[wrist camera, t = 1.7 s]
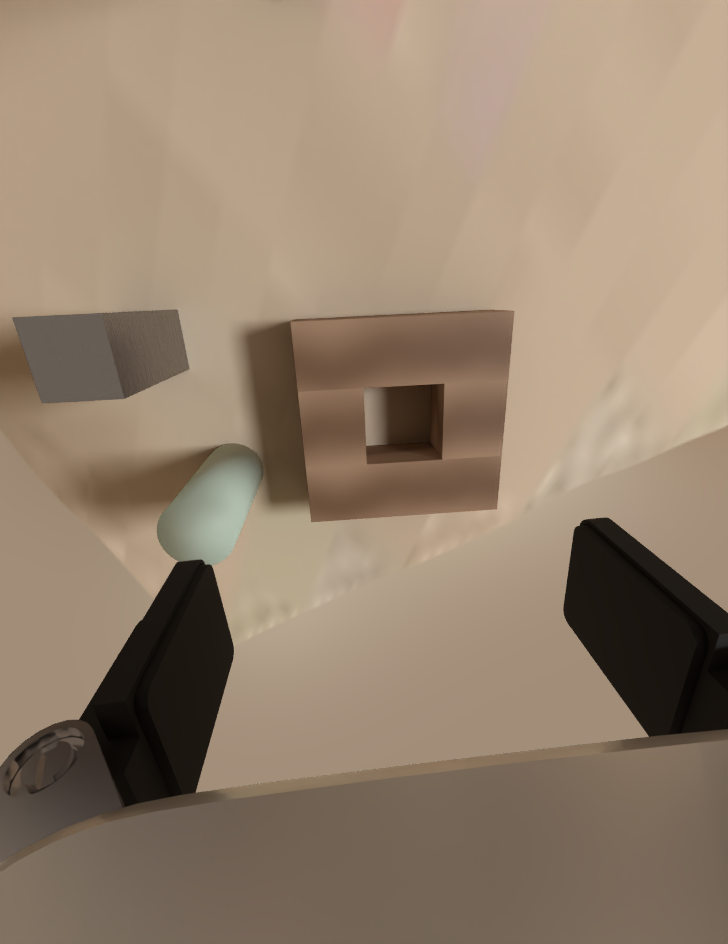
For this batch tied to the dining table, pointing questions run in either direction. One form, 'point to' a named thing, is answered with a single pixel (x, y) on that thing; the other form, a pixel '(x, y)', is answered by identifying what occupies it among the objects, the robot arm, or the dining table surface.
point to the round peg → (212, 506)
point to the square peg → (101, 353)
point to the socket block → (403, 364)
